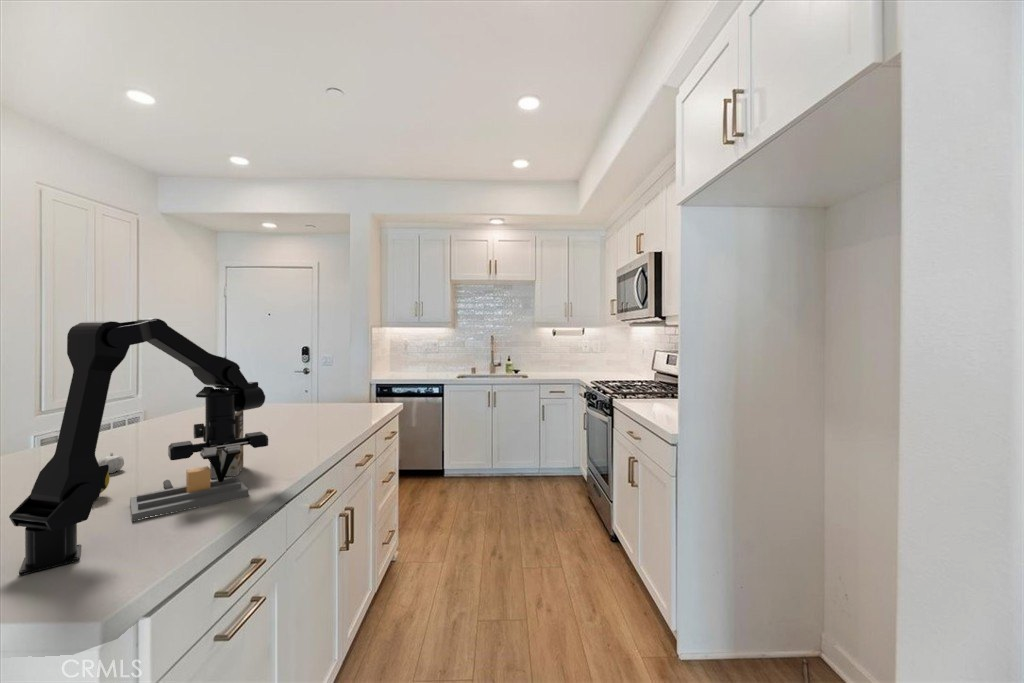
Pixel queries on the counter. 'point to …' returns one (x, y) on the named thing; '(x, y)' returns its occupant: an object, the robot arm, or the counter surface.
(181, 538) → the counter surface
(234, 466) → the coffee box
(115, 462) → the garlic
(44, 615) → the counter surface
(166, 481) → the dark grey parallel rods
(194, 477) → the light orange rectangular block
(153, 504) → the plate
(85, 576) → the counter surface
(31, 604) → the counter surface
